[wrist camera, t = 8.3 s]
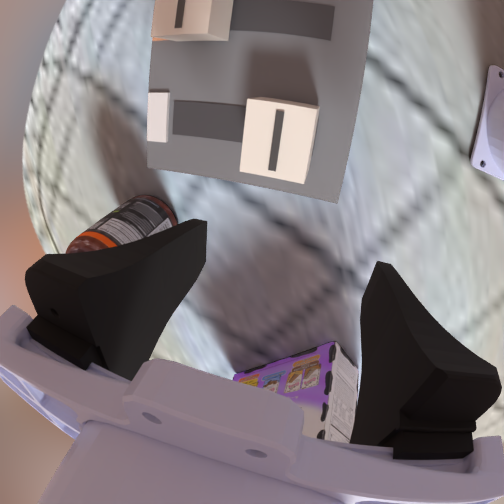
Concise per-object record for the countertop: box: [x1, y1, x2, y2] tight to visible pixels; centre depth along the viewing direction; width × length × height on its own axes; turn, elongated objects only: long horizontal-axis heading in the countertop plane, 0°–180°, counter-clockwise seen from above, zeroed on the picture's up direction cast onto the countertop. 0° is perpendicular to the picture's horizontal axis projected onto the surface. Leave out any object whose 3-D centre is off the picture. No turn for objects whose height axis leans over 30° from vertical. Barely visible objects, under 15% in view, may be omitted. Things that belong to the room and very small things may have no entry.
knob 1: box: [151, 0, 233, 41], centre depth 13 cm, size 4×4×3 cm
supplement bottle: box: [66, 195, 177, 254], centre depth 22 cm, size 6×6×11 cm
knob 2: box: [240, 97, 320, 184], centre depth 16 cm, size 4×4×3 cm
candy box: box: [233, 341, 359, 443], centre depth 25 cm, size 14×6×16 cm, turn 130°
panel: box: [147, 0, 373, 203], centre depth 15 cm, size 14×23×2 cm, turn 174°
